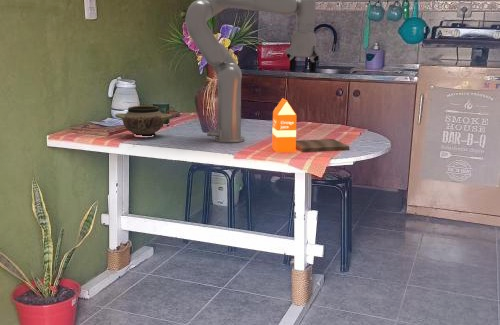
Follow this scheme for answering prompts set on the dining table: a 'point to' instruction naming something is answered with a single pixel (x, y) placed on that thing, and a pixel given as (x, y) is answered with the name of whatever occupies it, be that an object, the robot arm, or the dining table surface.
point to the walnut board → (320, 145)
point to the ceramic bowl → (143, 119)
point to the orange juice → (284, 128)
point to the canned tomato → (163, 109)
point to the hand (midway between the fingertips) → (302, 71)
